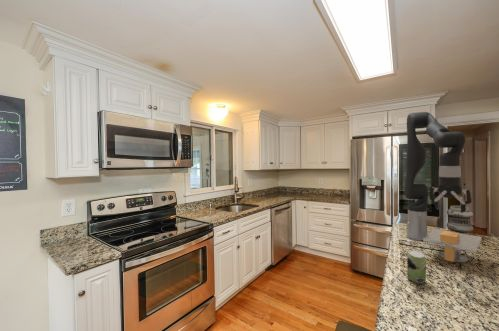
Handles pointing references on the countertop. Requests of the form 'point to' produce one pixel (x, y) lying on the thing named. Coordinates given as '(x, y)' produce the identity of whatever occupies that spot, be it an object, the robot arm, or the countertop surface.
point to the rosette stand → (464, 243)
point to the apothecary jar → (459, 220)
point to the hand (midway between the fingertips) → (449, 210)
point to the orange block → (450, 238)
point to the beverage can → (416, 266)
